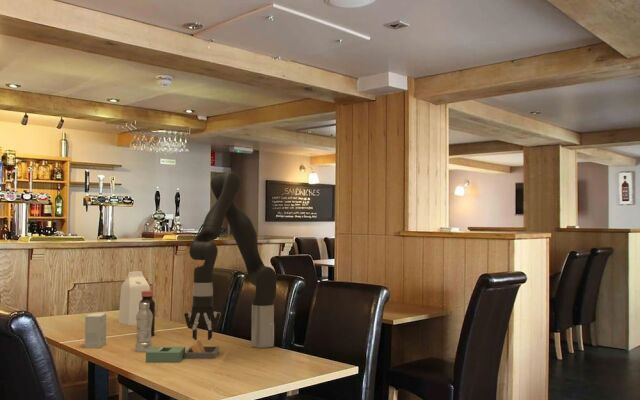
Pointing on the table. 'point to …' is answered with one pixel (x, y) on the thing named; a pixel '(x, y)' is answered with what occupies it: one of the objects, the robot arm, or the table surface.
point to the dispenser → (165, 354)
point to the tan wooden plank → (198, 347)
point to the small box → (95, 330)
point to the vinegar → (148, 298)
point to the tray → (190, 355)
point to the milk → (131, 297)
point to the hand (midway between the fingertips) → (202, 339)
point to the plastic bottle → (144, 328)
